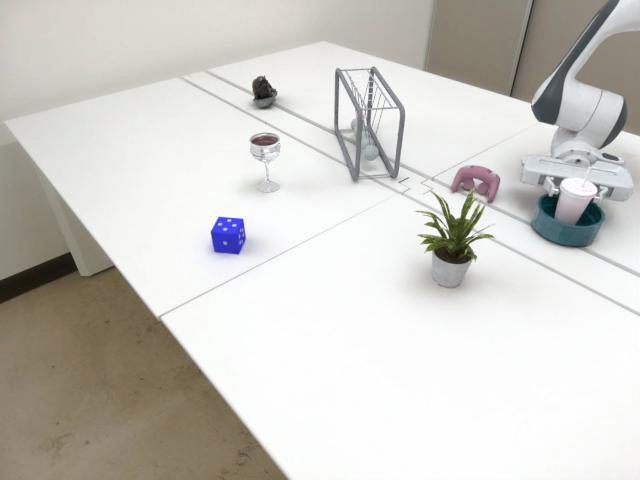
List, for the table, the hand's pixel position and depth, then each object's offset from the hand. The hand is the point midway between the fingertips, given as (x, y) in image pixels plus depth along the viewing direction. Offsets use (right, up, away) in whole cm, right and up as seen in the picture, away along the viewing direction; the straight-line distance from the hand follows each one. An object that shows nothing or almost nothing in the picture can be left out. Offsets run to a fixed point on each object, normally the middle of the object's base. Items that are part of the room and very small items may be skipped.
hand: (575, 197), depth 87 cm
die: (-67, -9, +2) cm, 67 cm away
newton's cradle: (-38, +15, +31) cm, 51 cm away
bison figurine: (-66, +35, +57) cm, 94 cm away
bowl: (0, -6, +6) cm, 8 cm away
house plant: (-26, -14, -4) cm, 30 cm away
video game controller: (-14, +3, +17) cm, 22 cm away
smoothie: (0, -5, +6) cm, 8 cm away
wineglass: (-61, +4, +19) cm, 64 cm away
